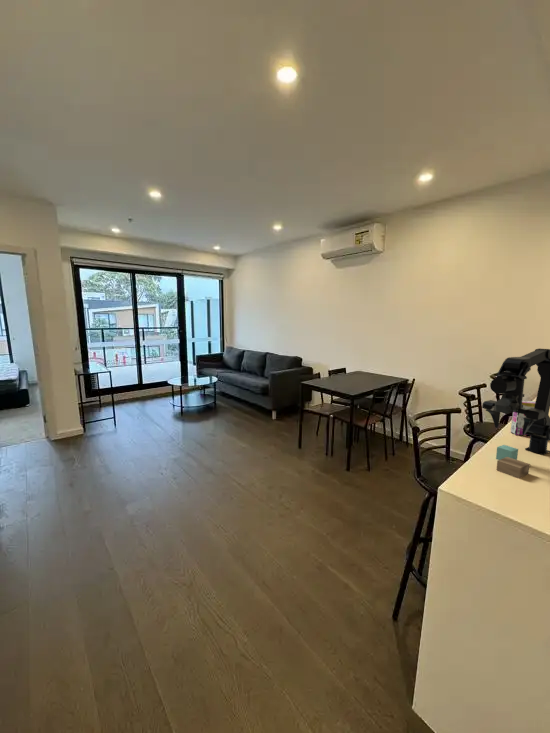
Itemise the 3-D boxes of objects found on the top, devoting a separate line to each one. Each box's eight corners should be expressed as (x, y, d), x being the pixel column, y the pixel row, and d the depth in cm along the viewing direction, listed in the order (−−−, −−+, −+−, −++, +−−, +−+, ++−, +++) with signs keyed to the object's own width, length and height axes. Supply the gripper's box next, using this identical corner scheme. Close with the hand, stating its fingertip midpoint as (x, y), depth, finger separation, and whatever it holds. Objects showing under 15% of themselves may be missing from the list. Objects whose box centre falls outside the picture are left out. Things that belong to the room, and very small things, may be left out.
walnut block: (506, 467, 118) (507, 456, 118) (528, 474, 112) (529, 463, 112) (496, 471, 115) (497, 460, 114) (518, 479, 109) (520, 468, 108)
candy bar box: (515, 435, 153) (519, 402, 151) (510, 432, 158) (513, 399, 156) (542, 437, 151) (546, 403, 148) (535, 434, 155) (539, 401, 153)
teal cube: (502, 456, 127) (503, 444, 127) (516, 461, 123) (518, 449, 123) (495, 459, 125) (497, 446, 124) (510, 464, 121) (511, 451, 120)
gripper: (476, 389, 125) (472, 427, 127) (532, 398, 108) (528, 442, 110) (491, 386, 130) (488, 423, 132) (547, 395, 114) (542, 437, 116)
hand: (509, 431), depth 122 cm, fingers open, 9 cm apart
